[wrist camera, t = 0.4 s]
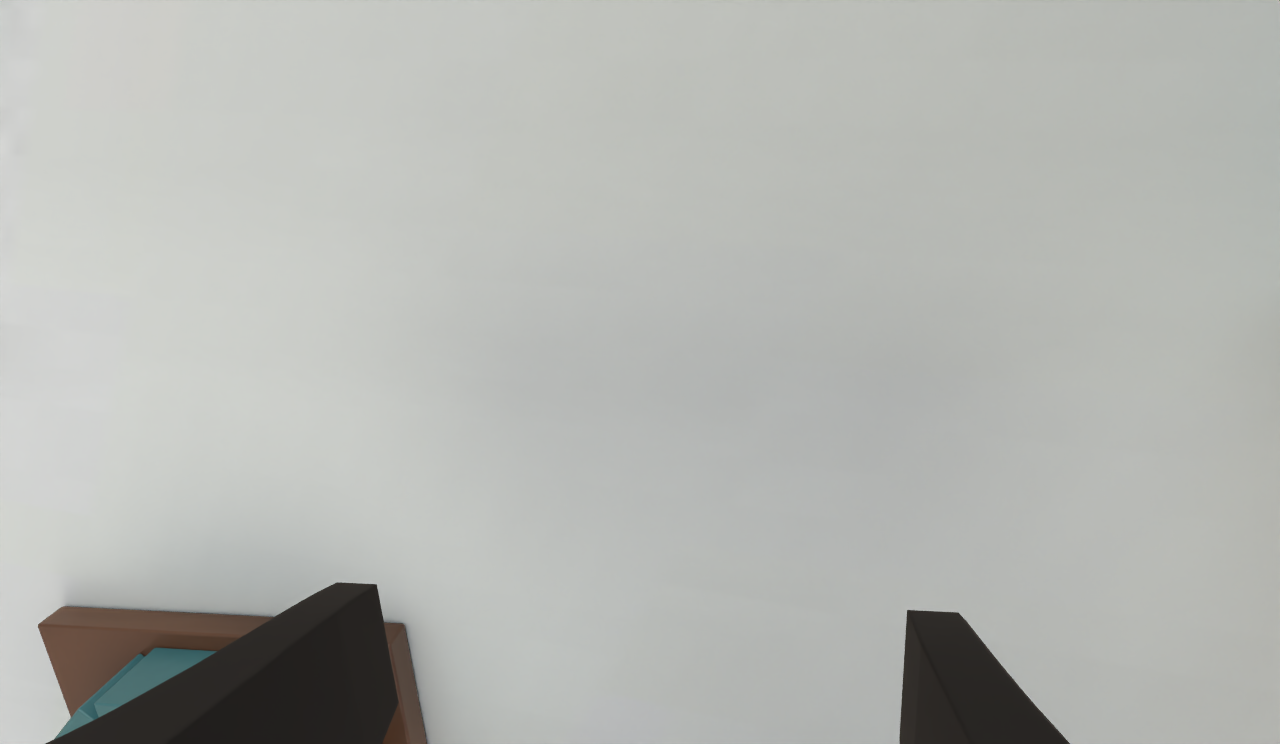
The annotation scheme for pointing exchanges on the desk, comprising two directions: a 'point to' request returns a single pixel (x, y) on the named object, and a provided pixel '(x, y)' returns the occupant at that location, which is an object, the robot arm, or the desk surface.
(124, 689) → the hoop
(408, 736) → the peg stand
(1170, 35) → the desk surface
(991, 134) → the desk surface
